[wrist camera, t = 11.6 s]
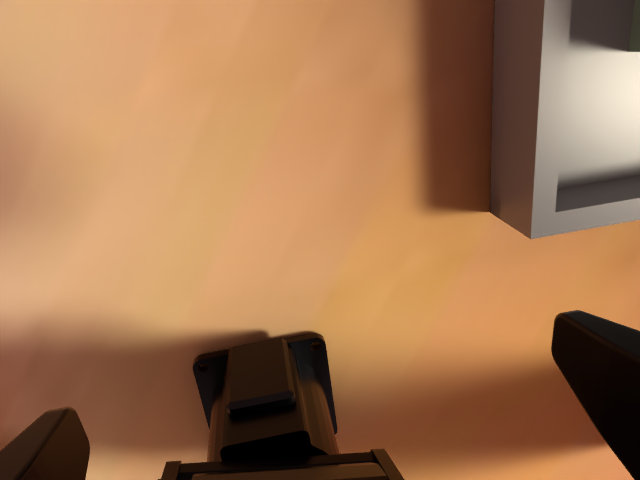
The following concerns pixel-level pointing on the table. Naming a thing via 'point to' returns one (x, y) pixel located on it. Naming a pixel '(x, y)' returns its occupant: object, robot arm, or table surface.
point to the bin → (564, 116)
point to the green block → (635, 29)
